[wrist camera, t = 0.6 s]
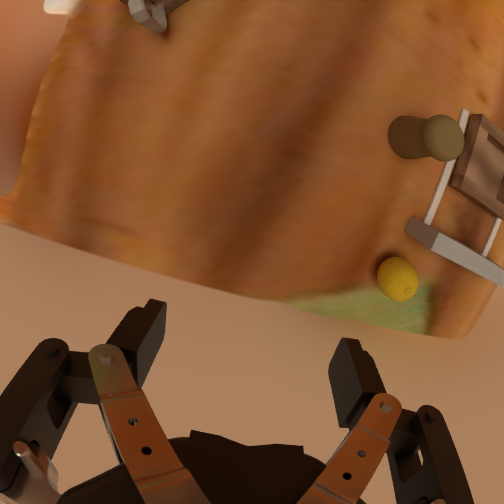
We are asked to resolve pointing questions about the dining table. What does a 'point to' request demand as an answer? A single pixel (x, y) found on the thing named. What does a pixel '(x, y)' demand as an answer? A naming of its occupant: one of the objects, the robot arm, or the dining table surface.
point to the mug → (152, 12)
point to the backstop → (449, 245)
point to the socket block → (482, 165)
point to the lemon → (397, 278)
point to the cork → (426, 137)
